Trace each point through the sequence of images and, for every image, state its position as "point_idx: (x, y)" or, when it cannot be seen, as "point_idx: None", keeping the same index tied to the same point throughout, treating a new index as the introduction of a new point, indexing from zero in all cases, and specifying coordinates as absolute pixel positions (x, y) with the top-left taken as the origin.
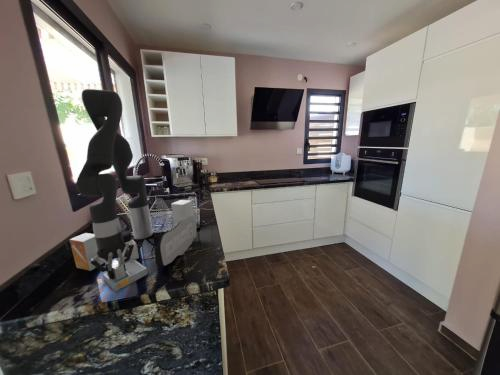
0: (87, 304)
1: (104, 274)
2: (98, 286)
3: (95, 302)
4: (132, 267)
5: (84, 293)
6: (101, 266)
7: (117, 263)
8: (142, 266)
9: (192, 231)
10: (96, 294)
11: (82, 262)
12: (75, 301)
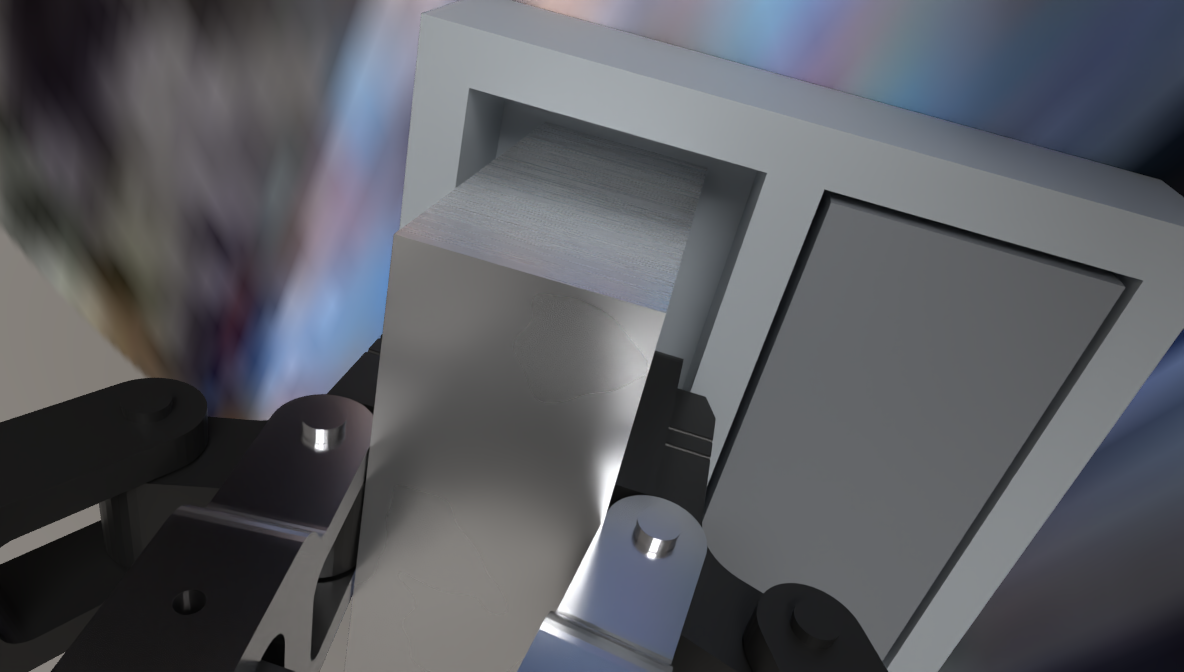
0: (125, 313)
1: (439, 59)
2: (344, 66)
3: (197, 378)
4: (862, 465)
5: (140, 8)
6: (23, 660)
7: (527, 573)
8: (938, 626)
9: None
10: (252, 243)
11: None
12: (18, 75)
